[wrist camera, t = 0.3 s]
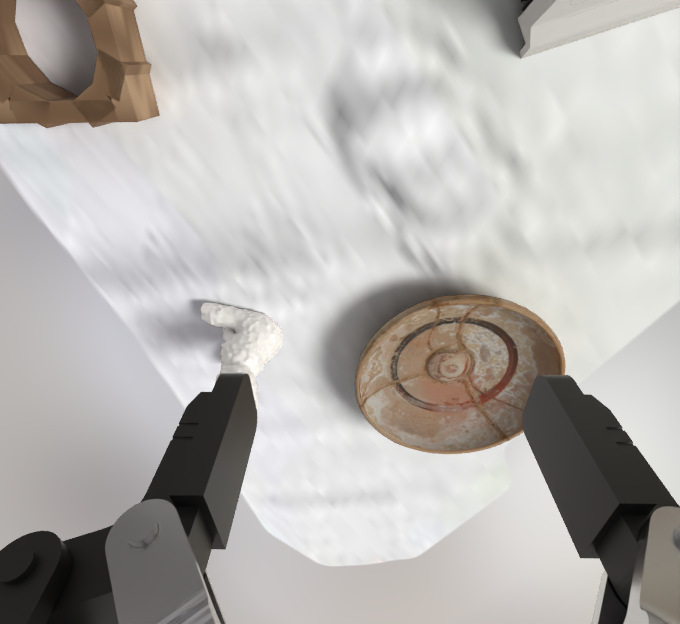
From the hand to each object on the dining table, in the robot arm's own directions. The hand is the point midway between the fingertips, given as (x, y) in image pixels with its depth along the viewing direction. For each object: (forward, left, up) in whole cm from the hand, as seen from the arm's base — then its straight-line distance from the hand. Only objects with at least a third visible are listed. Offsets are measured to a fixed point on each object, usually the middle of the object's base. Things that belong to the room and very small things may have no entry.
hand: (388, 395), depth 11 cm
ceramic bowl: (+23, +11, -29) cm, 39 cm away
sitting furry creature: (+18, -13, -29) cm, 36 cm away
